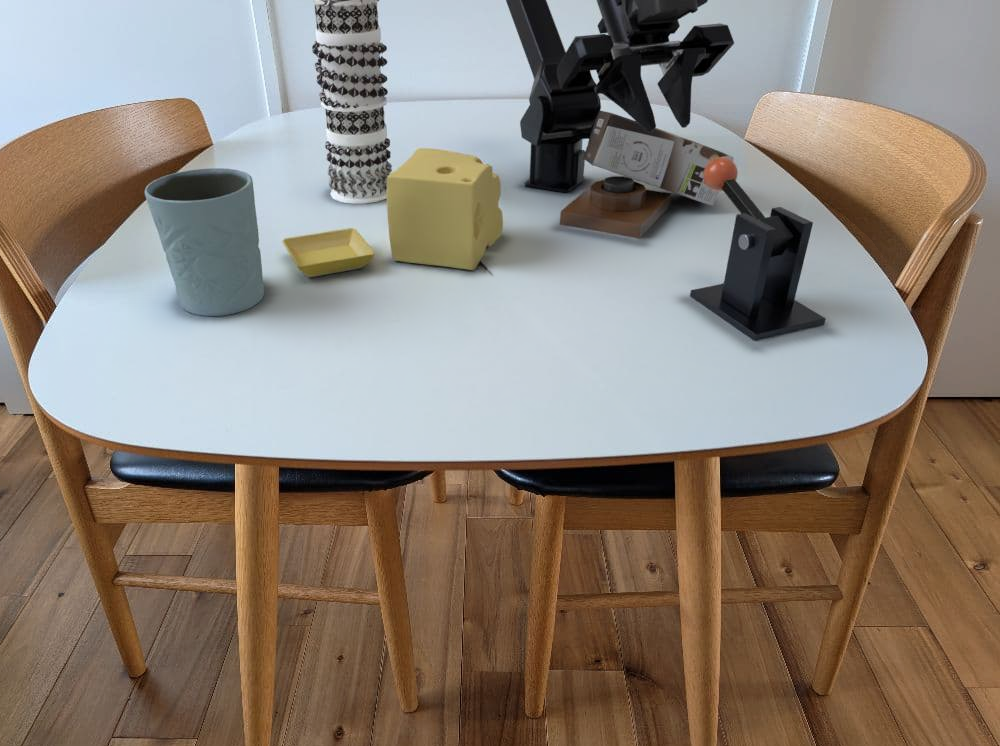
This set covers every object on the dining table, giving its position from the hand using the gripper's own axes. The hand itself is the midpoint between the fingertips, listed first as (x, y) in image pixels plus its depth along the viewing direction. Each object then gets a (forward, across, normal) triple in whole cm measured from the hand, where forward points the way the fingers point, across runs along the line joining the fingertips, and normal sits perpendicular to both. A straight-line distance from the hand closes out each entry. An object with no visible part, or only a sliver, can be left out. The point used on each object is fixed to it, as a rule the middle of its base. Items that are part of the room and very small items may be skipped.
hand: (669, 127), depth 84 cm
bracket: (+22, 0, -3) cm, 22 cm away
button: (0, +1, +14) cm, 14 cm away
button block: (+3, +1, +17) cm, 17 cm away
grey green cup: (+5, -48, +15) cm, 50 cm away
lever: (+13, 0, -5) cm, 14 cm away
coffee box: (0, +14, +14) cm, 20 cm away
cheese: (+3, -22, +16) cm, 27 cm away
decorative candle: (-13, -26, +32) cm, 43 cm away
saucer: (+2, -35, +18) cm, 39 cm away
